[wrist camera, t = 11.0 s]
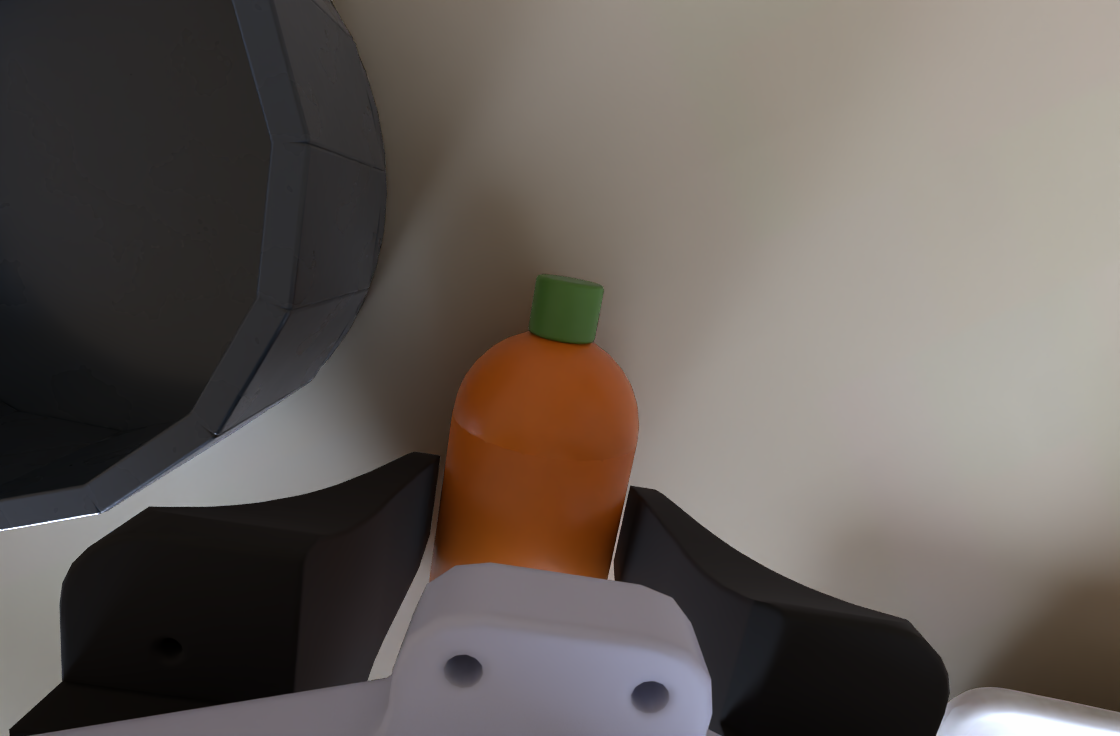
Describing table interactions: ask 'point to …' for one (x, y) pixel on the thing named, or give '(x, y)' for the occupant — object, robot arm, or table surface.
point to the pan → (170, 231)
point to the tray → (1023, 715)
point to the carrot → (540, 445)
